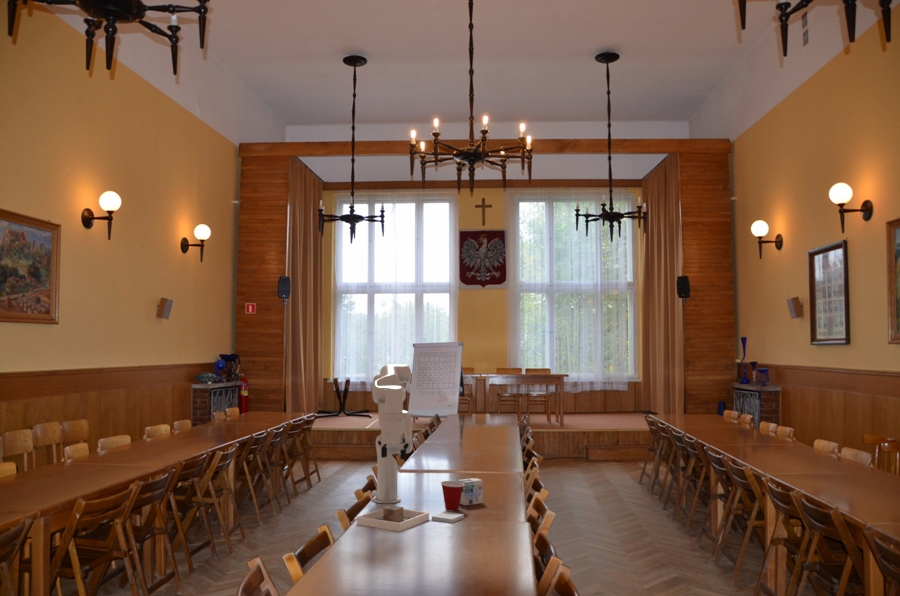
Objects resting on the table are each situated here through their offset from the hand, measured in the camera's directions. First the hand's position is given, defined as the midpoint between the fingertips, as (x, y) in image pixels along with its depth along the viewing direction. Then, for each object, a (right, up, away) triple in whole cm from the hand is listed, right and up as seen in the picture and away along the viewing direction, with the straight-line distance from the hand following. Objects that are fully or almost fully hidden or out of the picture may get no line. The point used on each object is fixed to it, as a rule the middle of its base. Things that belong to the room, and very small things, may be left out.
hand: (393, 458), depth 295 cm
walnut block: (0, -26, -2) cm, 26 cm away
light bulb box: (+33, -29, +34) cm, 56 cm away
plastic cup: (+25, -28, +21) cm, 43 cm away
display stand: (+23, -27, +3) cm, 35 cm away
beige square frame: (0, -26, -2) cm, 26 cm away
